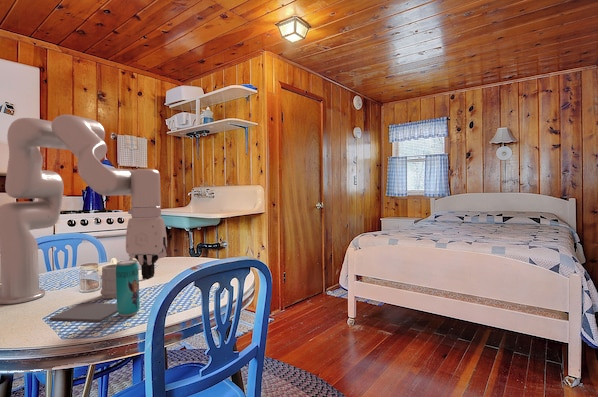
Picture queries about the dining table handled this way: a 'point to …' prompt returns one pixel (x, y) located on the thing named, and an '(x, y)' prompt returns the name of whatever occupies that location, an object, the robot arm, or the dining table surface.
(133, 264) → the beverage can
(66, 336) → the dining table surface
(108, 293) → the mug
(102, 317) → the mat
